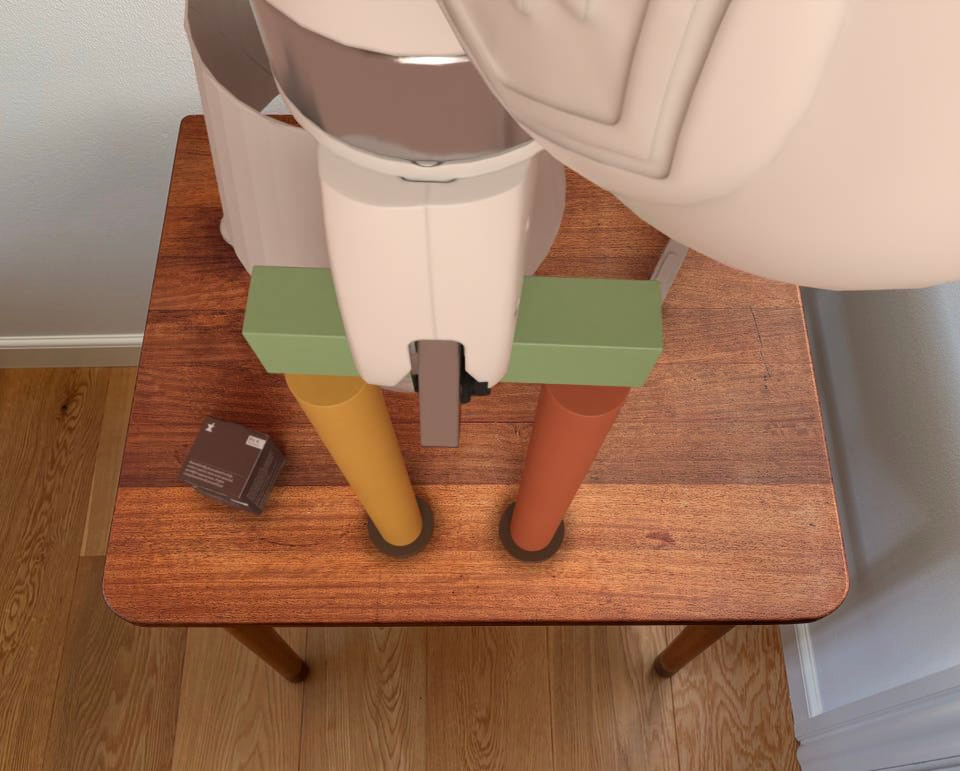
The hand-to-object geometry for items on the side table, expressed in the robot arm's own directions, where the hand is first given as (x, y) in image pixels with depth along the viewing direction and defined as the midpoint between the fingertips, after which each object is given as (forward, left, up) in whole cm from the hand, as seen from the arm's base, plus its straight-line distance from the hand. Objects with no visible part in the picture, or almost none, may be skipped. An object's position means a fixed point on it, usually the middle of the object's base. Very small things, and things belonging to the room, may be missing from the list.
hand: (455, 346), depth 33 cm
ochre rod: (0, +6, -41) cm, 41 cm away
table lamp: (+21, +6, -41) cm, 46 cm away
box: (+4, +21, -41) cm, 46 cm away
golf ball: (+30, +25, -41) cm, 56 cm away
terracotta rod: (0, -6, -41) cm, 41 cm away
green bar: (0, 0, 0) cm, 0 cm away
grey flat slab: (+28, -20, -41) cm, 53 cm away
